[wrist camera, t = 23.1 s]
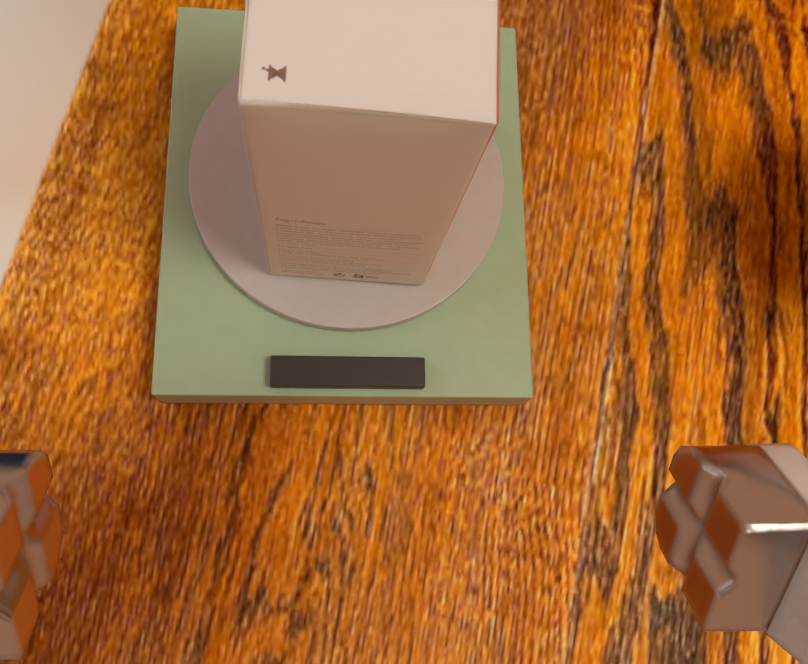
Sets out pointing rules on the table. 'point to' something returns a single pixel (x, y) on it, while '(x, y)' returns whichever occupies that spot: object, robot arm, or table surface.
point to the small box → (365, 128)
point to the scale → (322, 297)
